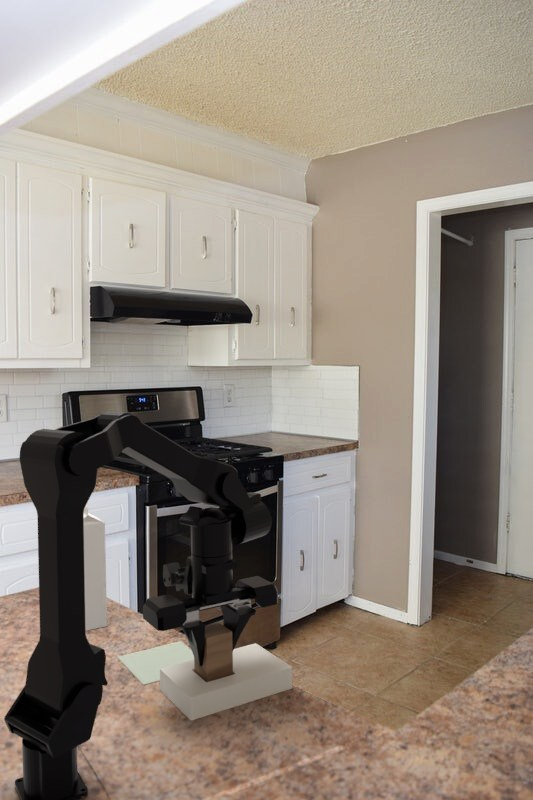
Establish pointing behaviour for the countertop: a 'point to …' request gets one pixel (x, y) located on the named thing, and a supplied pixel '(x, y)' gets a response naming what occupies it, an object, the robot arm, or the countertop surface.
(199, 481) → the robot arm
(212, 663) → the plug
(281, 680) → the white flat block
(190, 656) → the mat
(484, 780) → the countertop surface
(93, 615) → the milk
